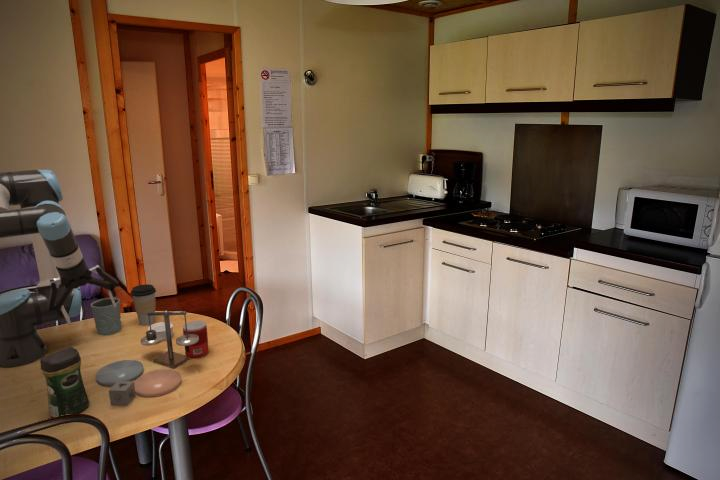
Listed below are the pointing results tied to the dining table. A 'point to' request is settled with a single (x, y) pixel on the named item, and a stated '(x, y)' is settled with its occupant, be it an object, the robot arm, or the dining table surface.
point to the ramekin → (161, 329)
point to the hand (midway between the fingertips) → (92, 312)
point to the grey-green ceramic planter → (106, 316)
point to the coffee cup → (144, 302)
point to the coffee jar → (64, 382)
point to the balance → (169, 341)
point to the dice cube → (122, 393)
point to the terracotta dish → (157, 383)
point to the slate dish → (119, 372)
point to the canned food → (202, 345)
